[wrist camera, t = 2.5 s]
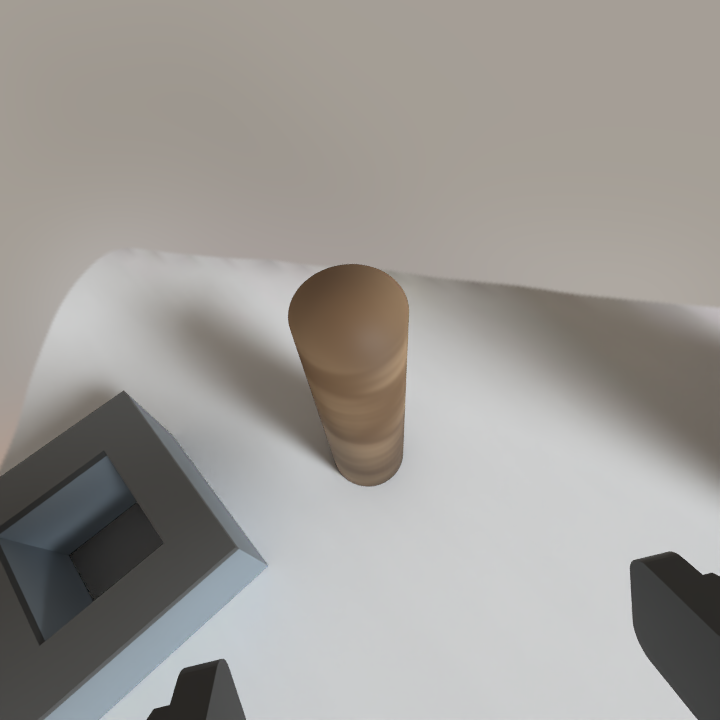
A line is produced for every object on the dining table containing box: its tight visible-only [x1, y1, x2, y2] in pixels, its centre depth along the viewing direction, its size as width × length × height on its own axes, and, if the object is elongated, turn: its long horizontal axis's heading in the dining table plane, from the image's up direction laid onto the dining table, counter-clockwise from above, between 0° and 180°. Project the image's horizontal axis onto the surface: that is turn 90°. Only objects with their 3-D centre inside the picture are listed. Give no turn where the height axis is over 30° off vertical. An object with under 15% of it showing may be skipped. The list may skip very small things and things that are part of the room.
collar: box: [0, 391, 268, 720], centre depth 23 cm, size 10×10×6 cm
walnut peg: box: [288, 264, 409, 486], centre depth 22 cm, size 4×4×14 cm
